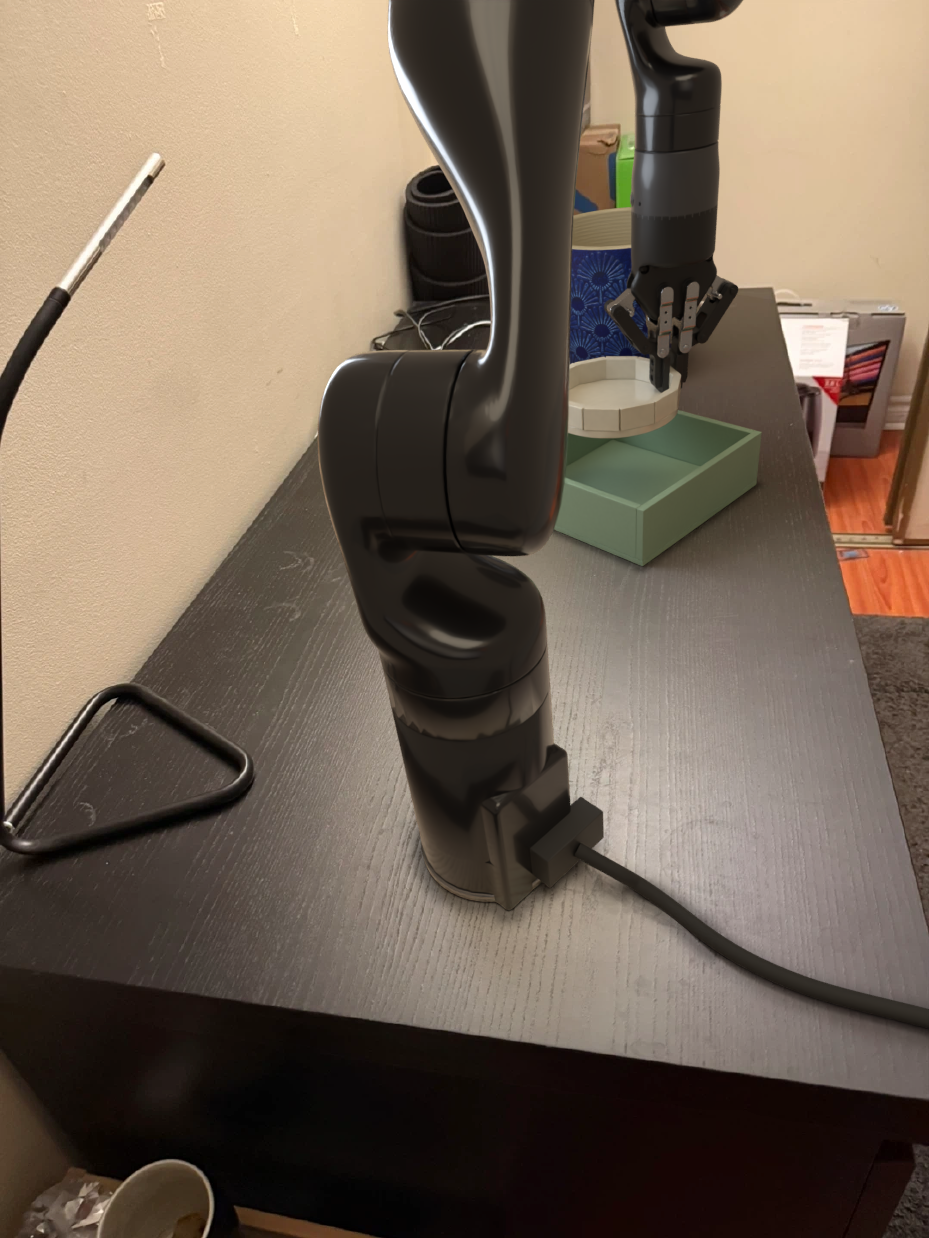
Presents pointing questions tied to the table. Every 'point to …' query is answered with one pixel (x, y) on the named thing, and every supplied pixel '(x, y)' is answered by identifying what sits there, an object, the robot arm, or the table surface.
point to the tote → (654, 484)
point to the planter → (601, 284)
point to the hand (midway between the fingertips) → (668, 388)
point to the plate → (618, 398)
